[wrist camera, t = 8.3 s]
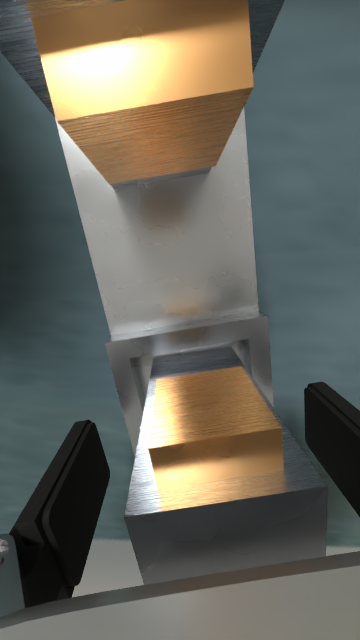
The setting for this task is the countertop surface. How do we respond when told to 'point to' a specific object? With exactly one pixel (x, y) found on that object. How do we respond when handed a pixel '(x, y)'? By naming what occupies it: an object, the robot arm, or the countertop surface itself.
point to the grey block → (218, 475)
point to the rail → (156, 167)
